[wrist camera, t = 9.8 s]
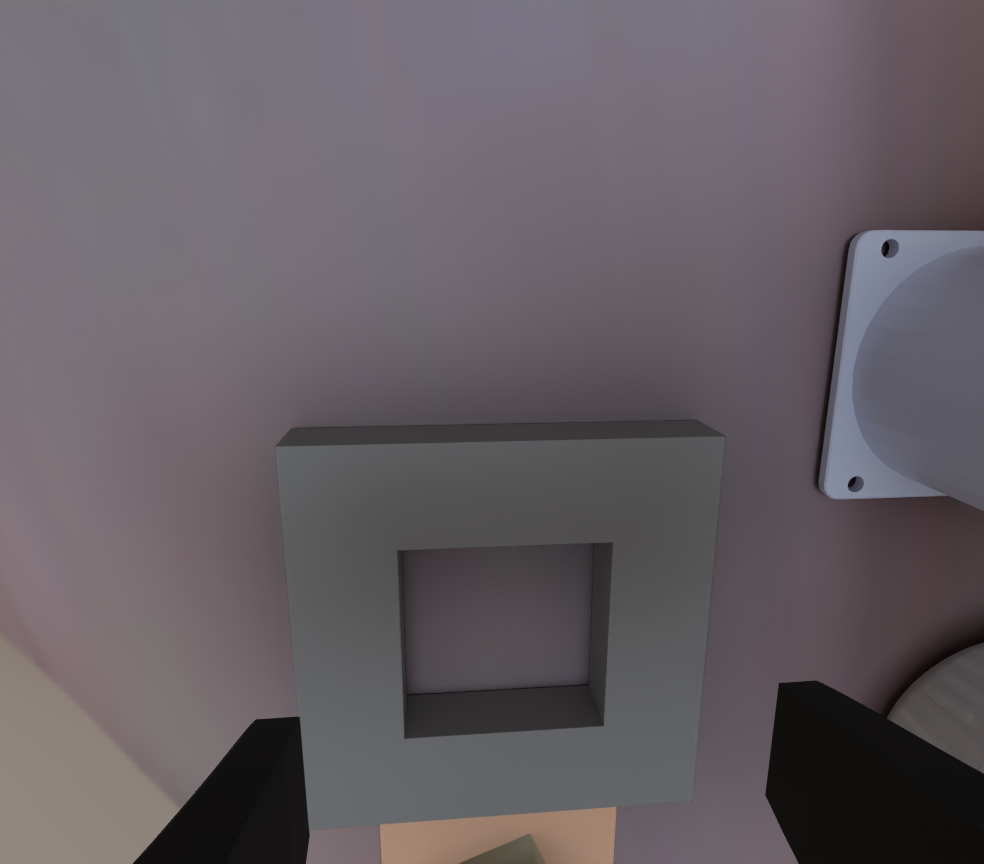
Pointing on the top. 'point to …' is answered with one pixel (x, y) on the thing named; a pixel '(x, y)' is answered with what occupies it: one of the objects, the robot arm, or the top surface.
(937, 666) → the ramekin
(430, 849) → the coaster
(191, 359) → the top surface
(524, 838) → the sage block
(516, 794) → the pocket board
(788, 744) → the robot arm
